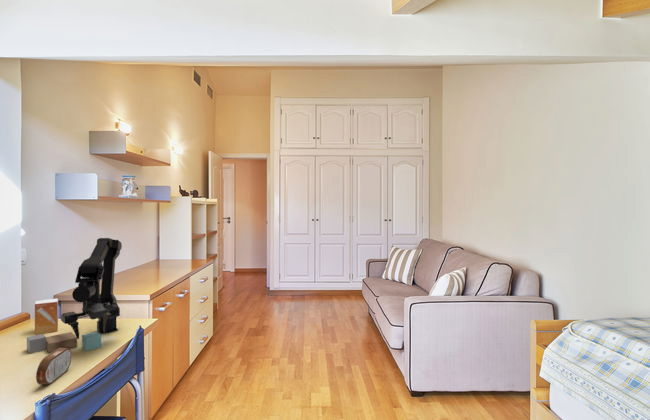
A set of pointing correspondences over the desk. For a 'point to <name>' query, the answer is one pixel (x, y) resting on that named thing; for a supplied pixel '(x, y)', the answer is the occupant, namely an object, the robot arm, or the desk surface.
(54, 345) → the walnut block
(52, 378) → the tin
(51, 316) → the small box
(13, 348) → the desk surface
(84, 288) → the robot arm
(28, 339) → the grey cube
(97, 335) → the teal cube
